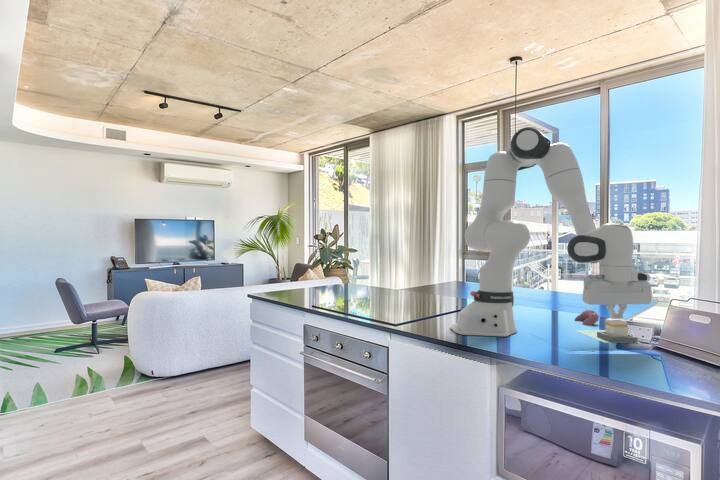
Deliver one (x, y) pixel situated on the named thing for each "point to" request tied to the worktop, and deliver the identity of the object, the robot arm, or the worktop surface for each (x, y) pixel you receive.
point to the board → (608, 337)
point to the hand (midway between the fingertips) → (616, 318)
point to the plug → (616, 327)
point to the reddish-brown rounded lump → (588, 317)
